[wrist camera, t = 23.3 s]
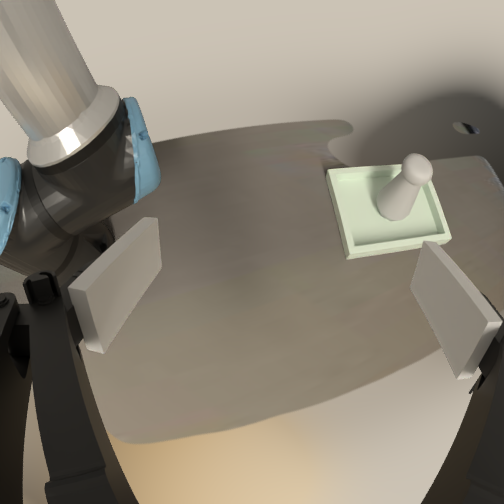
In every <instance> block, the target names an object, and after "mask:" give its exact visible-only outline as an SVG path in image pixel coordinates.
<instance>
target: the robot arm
mask: <svg viewBox="0 0 504 504" xmlns="http://www.w3.org/2000/svg"><path fill="white" fill-rule="evenodd" d="M0 99H1V101H2V102H3V104H4V105H5V107H6V108H7V109H8V111H9V112H10V113H11V115H12V116H13V117H14V119H15V120H16V121H17V123H18V124H19V125H20V126H21V128H22V129H23V130H24V132H25V133H26V134H27V136H28V137H29V141H28V148H27V157H28V160H26V161H25V162H24V163H22V164H20V163H19V161H18V160H17V159H13V158H11V157H4V158H1V159H0V264H1V265H3V266H5V267H7V268H10V269H12V270H14V271H16V272H19V273H21V274H23V275H26V276H28V277H27V278H26V279H25V280H24V282H23V287H24V290H25V293H26V296H27V299H28V301H29V304H18V302H17V300H16V297H15V295H14V294H13V293H0V504H23V488H22V487H23V484H22V481H23V479H22V478H23V451H24V438H25V428H26V418H27V410H28V403H29V396H30V390H31V384H32V382H33V391H34V399H35V407H36V413H37V420H38V425H39V431H40V436H41V441H42V446H43V451H44V455H45V459H46V463H47V467H48V471H49V476H50V481H49V482H47V483H45V494H46V499H47V502H48V504H139V503H138V501H137V499H136V498H135V496H134V494H133V492H132V490H131V488H130V485H129V483H128V482H127V479H126V477H125V475H124V473H123V471H122V469H121V466H120V464H119V462H118V459H117V457H116V455H115V452H114V450H113V448H112V445H111V443H110V440H109V438H108V435H107V433H106V430H105V427H104V425H103V422H102V419H101V416H100V413H99V411H98V408H97V405H96V402H95V399H94V396H93V392H92V389H91V386H90V383H89V379H88V376H87V372H86V369H85V365H84V361H83V358H82V354H81V350H80V348H79V345H78V344H79V343H80V341H81V340H82V339H83V338H84V341H85V344H86V347H87V349H88V350H91V351H95V352H99V353H103V354H104V353H105V352H106V350H107V349H108V347H109V345H110V344H111V342H112V341H113V339H114V338H115V336H116V335H117V333H118V331H119V330H120V328H121V327H122V325H123V324H124V322H125V321H126V319H127V318H128V316H129V315H130V313H131V312H132V310H133V309H134V307H135V306H136V304H137V303H138V301H139V300H140V299H141V297H142V296H143V294H144V293H145V291H146V290H147V288H148V287H149V285H150V284H151V283H152V281H153V280H154V278H155V277H156V275H157V274H158V273H159V271H160V270H161V268H162V262H161V252H160V241H159V228H158V218H151V217H143V218H142V219H141V220H140V221H139V222H137V223H136V224H135V225H134V226H133V227H132V228H131V229H129V230H128V231H127V232H126V233H125V234H124V235H123V236H122V237H120V238H119V239H118V240H117V241H116V242H115V243H114V240H113V237H112V235H111V233H110V231H109V230H108V228H107V227H106V226H105V225H104V224H102V223H101V222H100V221H102V220H104V219H106V218H108V217H109V216H111V215H113V214H115V213H117V212H119V211H120V210H122V209H124V208H126V207H128V206H130V205H132V204H135V203H137V202H138V200H139V199H141V198H143V197H144V196H146V195H147V194H149V193H151V192H152V191H154V190H155V189H156V188H157V187H158V185H159V184H160V181H161V172H160V168H159V165H158V161H157V158H156V155H155V152H154V149H153V146H152V143H151V140H150V137H149V135H148V131H147V128H146V125H145V121H144V119H143V116H142V113H141V110H140V107H139V105H138V102H137V100H136V99H135V98H134V97H129V98H123V99H122V100H121V98H120V96H119V95H118V93H117V91H116V90H115V89H114V88H112V87H109V86H102V85H97V84H96V83H95V81H94V79H93V77H92V75H91V73H90V71H89V69H88V67H87V65H86V63H85V61H84V59H83V58H82V56H81V54H80V52H79V50H78V48H77V46H76V44H75V42H74V40H73V38H72V36H71V33H70V31H69V30H68V27H67V25H66V23H65V21H64V19H63V17H62V15H61V13H60V11H59V9H58V6H57V4H56V2H55V0H0ZM410 289H411V291H412V293H413V295H414V296H415V298H416V300H417V302H418V304H419V305H420V307H421V309H422V311H423V313H424V314H425V316H426V318H427V320H428V322H429V324H430V326H431V328H432V330H433V331H434V333H435V335H436V337H437V339H438V341H439V343H440V345H441V347H442V349H443V351H444V353H445V355H446V358H447V360H448V362H449V364H450V366H451V368H452V370H453V372H454V375H455V377H456V379H465V378H471V377H472V376H473V374H474V372H475V371H476V369H477V367H478V366H479V368H480V370H481V372H482V374H481V375H480V376H479V378H478V380H477V381H476V383H475V384H474V386H473V387H472V389H471V390H470V392H469V394H471V393H472V391H473V394H472V397H471V400H470V403H469V405H468V408H467V411H466V413H465V416H464V418H463V421H462V423H461V426H460V428H459V431H458V433H457V435H456V438H455V440H454V442H453V444H452V446H451V449H450V451H449V453H448V455H447V457H446V459H445V461H444V463H443V465H442V467H441V469H440V471H439V473H438V475H437V476H436V478H435V480H434V482H433V484H432V486H431V487H430V489H429V491H428V493H427V494H426V496H425V498H424V499H423V501H422V503H421V504H504V319H503V317H502V316H501V315H500V314H499V312H498V311H497V310H496V308H495V307H494V306H493V305H491V302H490V301H489V299H488V298H487V297H486V296H485V295H484V294H482V293H481V292H480V291H479V290H478V289H477V288H476V287H475V286H474V284H473V283H472V282H471V281H470V280H469V278H468V277H467V276H466V275H465V274H464V273H463V271H462V270H461V269H460V268H459V267H458V266H457V265H456V263H455V262H454V261H453V260H452V259H451V258H450V257H449V256H448V255H447V253H446V252H445V251H444V250H443V249H442V248H441V247H440V246H439V245H438V244H437V243H436V242H432V241H424V240H423V244H422V248H421V251H420V255H419V259H418V262H417V266H416V269H415V273H414V276H413V279H412V282H411V286H410Z"/></svg>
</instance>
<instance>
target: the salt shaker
mask: <svg viewBox="0 0 504 504" xmlns="http://www.w3.org/2000/svg"><path fill="white" fill-rule="evenodd" d="M432 174H433V169H432V165H431V164H430V162H429V161H428V159H426V158H425V157H424V156H422V155H420V154H416V153H415V154H410V155H408V156H407V157H406V158H405V159H404V160H403V163H402V166H401V172H400V173H399V174H398V175H397V176H396V177H395V178H394V179H392V180H391V181H390V182H389V183H388V184H387V185H386V186H385V187H383V188H382V189H381V190H380V191H379V193H378V196H377V199H376V200H377V207H378V209H379V212H380V215H381V216H382V217H383V218H385V219H387V220H389V221H399V220H403V219H404V218H406V217H407V216H408V215H409V214H410V212H411V209H412V207H413V205H414V202H415V200H416V198H417V195H418V193H419V190H420V188H421V186H423V185H425V184H426V183H428V182H429V181H430V180H431V177H432Z"/></svg>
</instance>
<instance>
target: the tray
mask: <svg viewBox="0 0 504 504" xmlns="http://www.w3.org/2000/svg"><path fill="white" fill-rule="evenodd" d="M401 166H402V164H398V165H380V166H365V167H351V168H339V169H328V171H327V175H326V181H327V184H328V188H329V192H330V195H331V199H332V203H333V207H334V211H335V215H336V219H337V223H338V227H339V231H340V235H341V240H342V244H343V248H344V253H345V257H346V259H353V258H359V257H366V256H372V255H379V254H385V253H392V252H398V251H404V250H410V249H416V248H422V244H423V240H424V241H432V242H436V243H437V244H438V245H441V244H445V243H447V242H448V241H449V240H450V239H452V238H451V235H450V231H449V228H448V225H447V222H446V219H445V216H444V213H443V211H442V208H441V205H440V202H439V199H438V197H437V194H436V192H435V189H434V186H433V184H432V181H431V180H430V181H429V182H428V183H426V184H425V185H423V186H421V188H420V190H419V193H418V195H417V198H416V200H415V202H414V205H413V207H412V209H411V212H410V214H409V215H408V216H407V217H406V218H404V219H403V220H399V221H389V220H387V219H385V218H383V217H382V216H381V215H380V212H379V209H378V207H377V200H376V199H377V196H378V193H379V191H380V190H381V189H382V188H383V187H385V186H386V185H387V184H388V183H389V182H390V181H391V180H392V179H394V178H395V177H396V176H397V175H398V174H399V173H400V172H401Z"/></svg>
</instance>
